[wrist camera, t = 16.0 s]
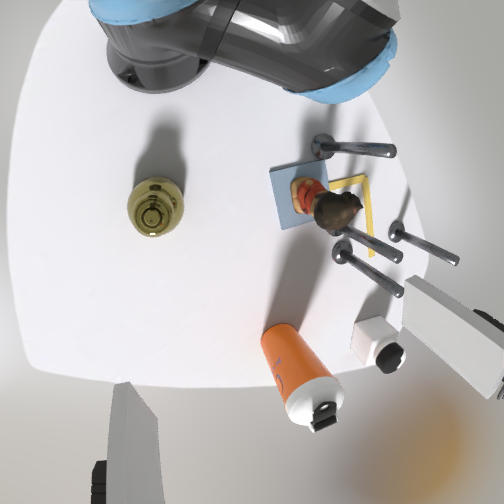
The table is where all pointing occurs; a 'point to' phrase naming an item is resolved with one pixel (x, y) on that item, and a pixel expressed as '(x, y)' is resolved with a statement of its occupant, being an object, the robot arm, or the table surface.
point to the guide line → (366, 200)
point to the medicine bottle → (377, 344)
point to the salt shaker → (155, 206)
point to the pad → (283, 193)
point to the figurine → (323, 203)
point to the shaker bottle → (302, 378)
